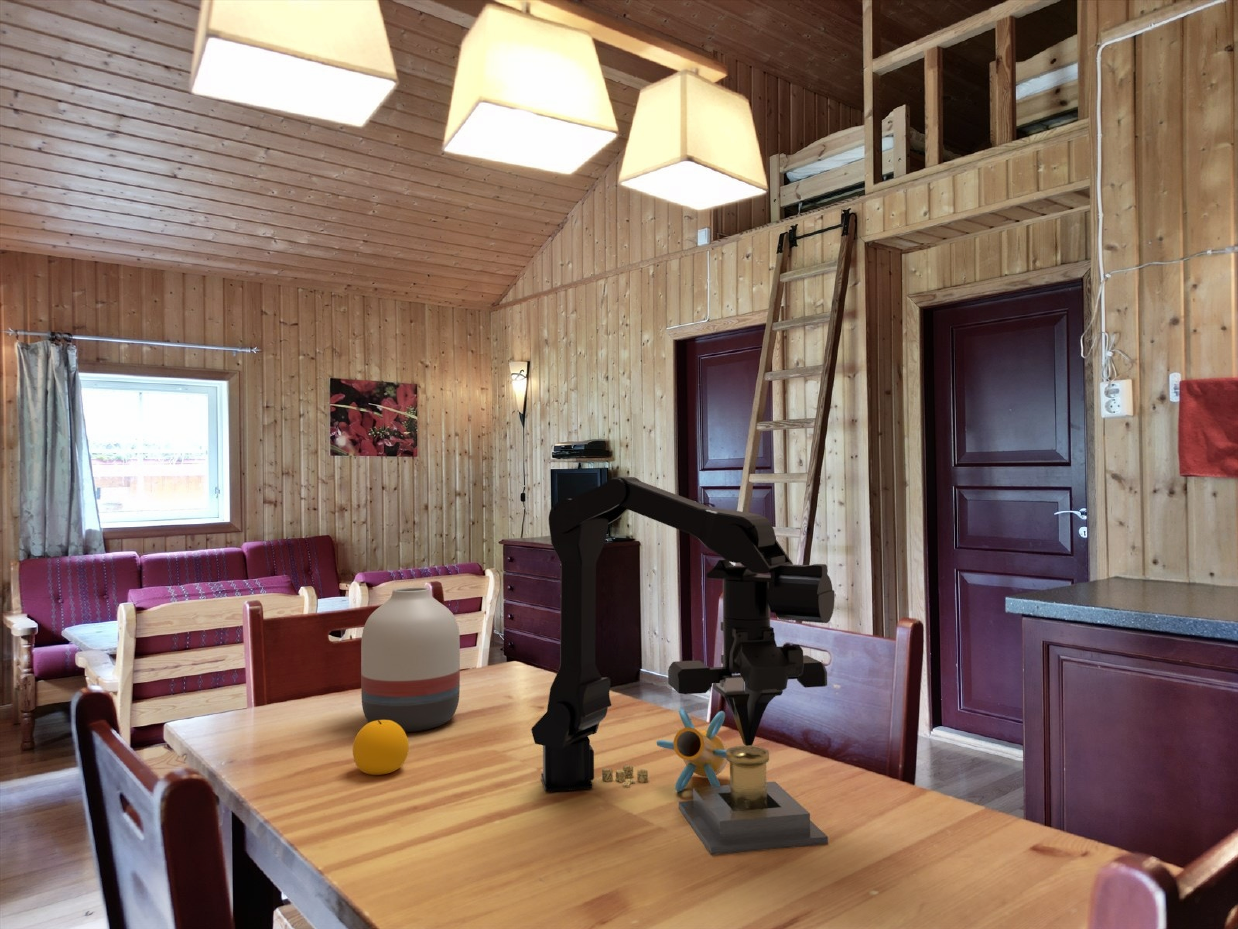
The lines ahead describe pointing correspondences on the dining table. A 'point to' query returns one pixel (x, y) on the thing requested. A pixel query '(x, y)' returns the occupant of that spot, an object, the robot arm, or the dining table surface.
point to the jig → (749, 821)
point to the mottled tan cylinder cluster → (625, 775)
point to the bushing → (748, 777)
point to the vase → (410, 661)
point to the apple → (380, 747)
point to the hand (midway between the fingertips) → (747, 745)
